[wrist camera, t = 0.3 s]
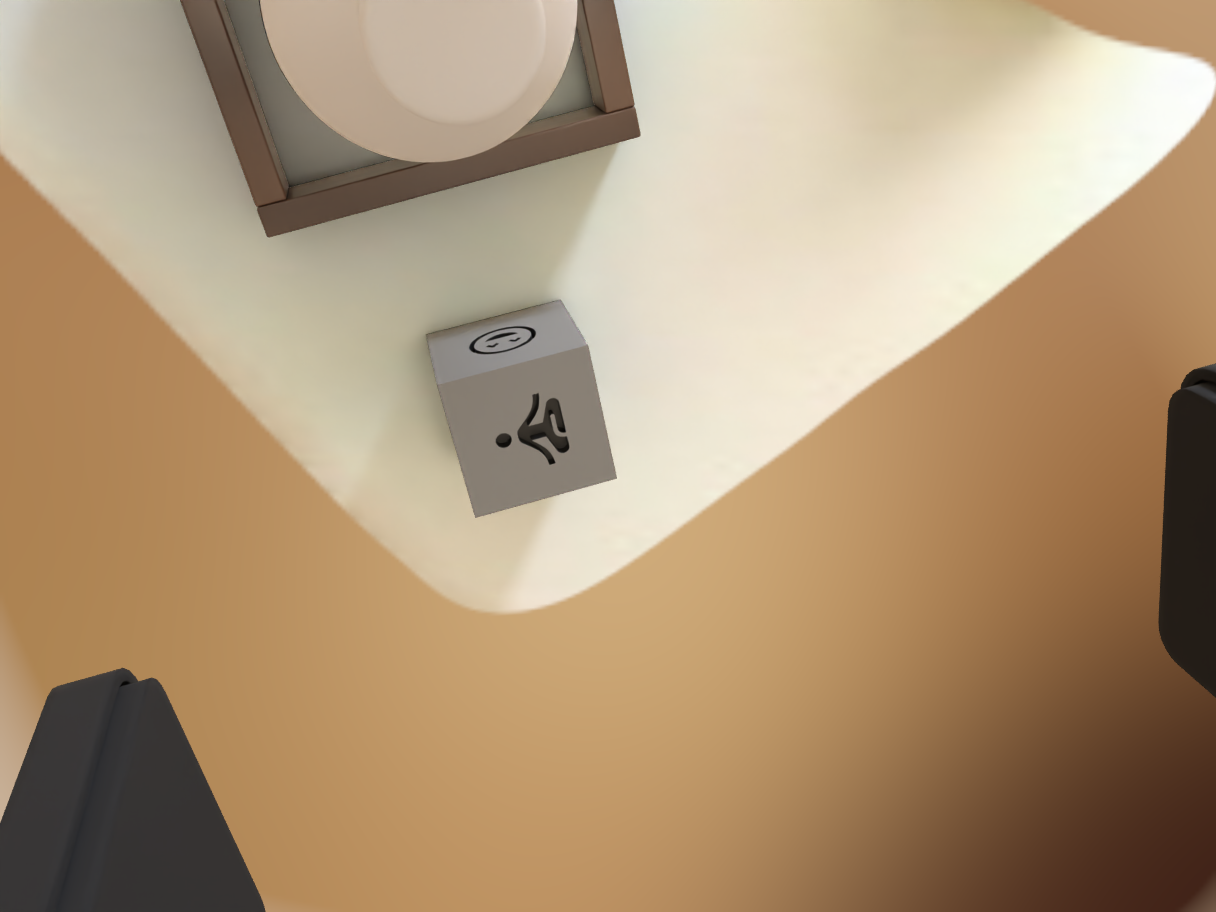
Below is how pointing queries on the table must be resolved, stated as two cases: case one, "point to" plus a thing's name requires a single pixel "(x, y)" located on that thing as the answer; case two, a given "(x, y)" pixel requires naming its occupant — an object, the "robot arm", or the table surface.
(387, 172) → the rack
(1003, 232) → the table surface
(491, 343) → the dice cube
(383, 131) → the bath foam
